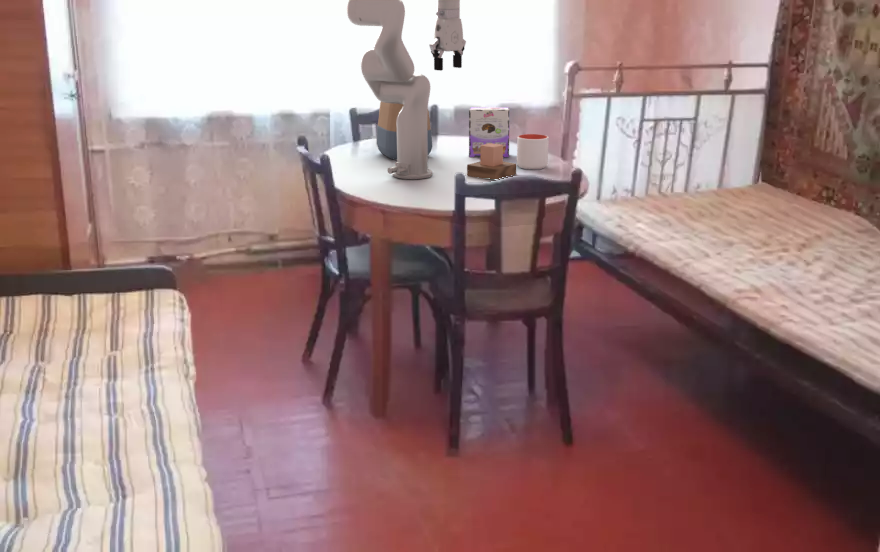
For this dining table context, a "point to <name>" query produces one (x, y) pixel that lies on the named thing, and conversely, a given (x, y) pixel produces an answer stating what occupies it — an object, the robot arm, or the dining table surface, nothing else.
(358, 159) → the dining table surface
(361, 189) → the dining table surface
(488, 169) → the plinth
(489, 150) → the brick
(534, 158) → the cup
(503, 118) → the candy box
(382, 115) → the tan two-tone rounded container
